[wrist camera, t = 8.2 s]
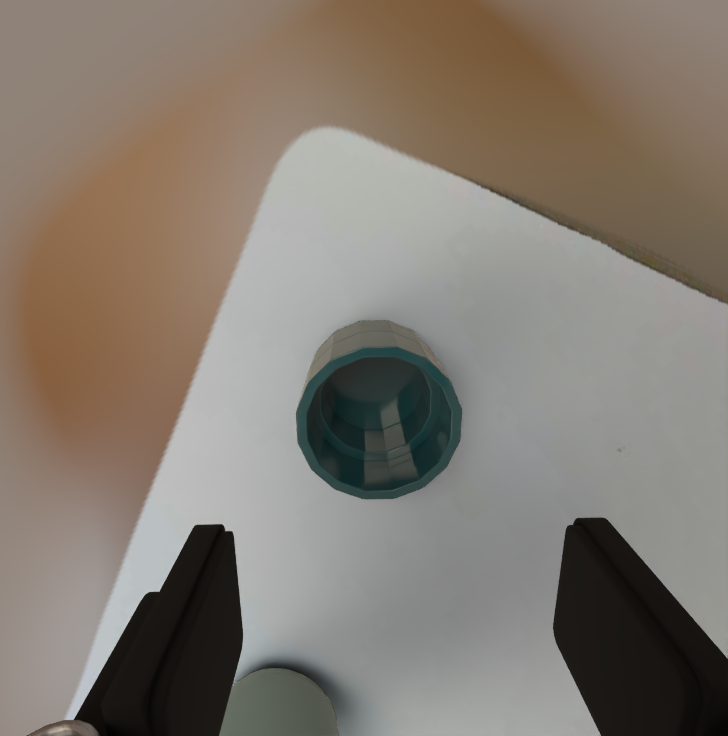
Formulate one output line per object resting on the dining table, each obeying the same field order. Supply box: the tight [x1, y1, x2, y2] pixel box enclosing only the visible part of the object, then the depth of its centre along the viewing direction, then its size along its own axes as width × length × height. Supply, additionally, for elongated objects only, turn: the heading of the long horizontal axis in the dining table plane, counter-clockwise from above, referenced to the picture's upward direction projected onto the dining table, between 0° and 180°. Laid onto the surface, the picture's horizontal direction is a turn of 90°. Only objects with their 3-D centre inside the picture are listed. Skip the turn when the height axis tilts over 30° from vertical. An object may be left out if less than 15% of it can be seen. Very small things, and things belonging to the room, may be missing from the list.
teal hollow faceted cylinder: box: [296, 320, 462, 499], centre depth 21 cm, size 6×6×6 cm
